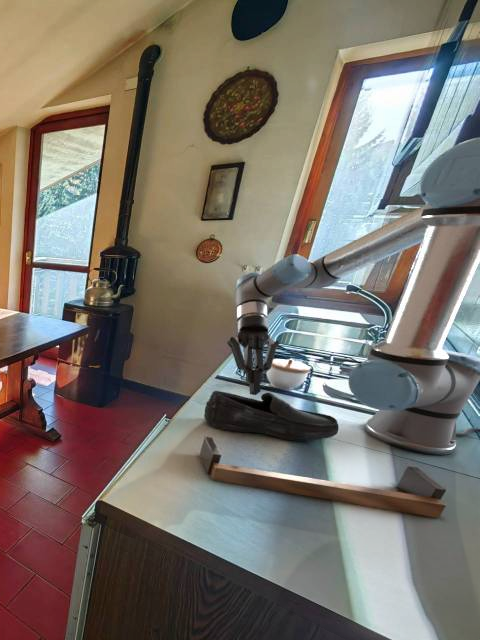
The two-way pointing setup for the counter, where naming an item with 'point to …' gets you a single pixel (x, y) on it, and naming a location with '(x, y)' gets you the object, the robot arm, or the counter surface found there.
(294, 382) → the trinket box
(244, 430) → the loafer
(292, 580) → the counter surface
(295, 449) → the counter surface
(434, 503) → the wooden plank on wedges
